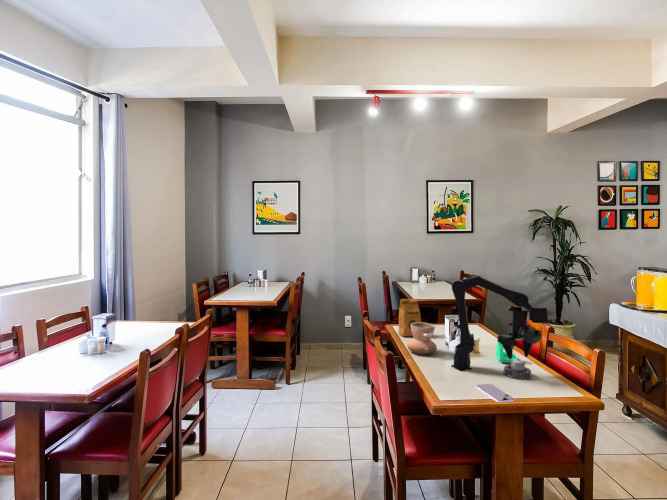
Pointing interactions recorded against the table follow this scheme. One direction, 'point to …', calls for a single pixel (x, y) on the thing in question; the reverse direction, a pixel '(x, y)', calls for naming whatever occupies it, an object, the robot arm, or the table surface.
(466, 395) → the table surface
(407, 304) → the coffee package
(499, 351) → the camera mount
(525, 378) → the dark grey ashtray
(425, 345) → the ceramic jug
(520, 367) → the cap
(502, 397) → the mobile phone
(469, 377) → the table surface
